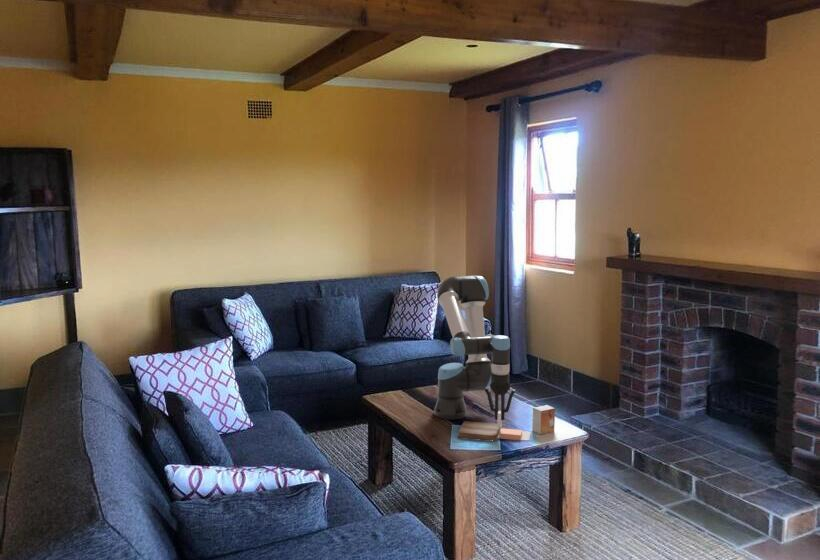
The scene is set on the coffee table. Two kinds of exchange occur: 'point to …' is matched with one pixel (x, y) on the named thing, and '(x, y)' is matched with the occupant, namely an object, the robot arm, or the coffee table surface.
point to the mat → (524, 436)
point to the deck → (479, 431)
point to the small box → (543, 419)
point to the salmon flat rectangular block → (510, 434)
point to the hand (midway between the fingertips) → (499, 427)
